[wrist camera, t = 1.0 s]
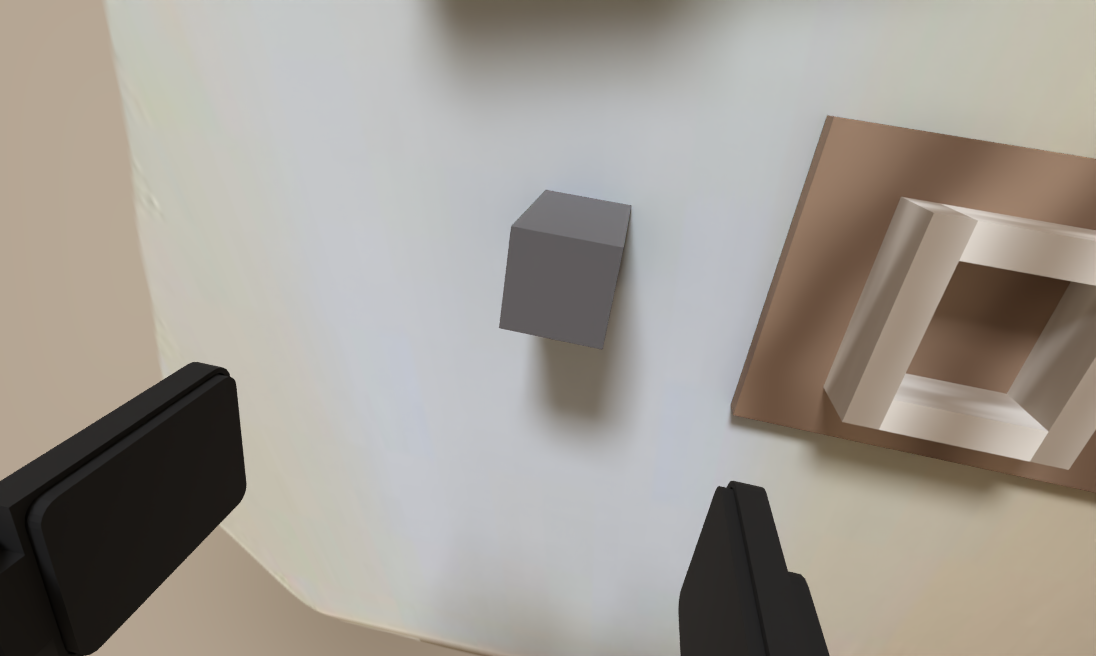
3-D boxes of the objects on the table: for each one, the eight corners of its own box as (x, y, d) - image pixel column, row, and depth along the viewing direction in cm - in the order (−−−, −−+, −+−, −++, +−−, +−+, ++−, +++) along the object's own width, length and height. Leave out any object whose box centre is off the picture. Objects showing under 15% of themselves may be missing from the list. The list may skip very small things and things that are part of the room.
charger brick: (631, 205, 26) (623, 247, 20) (614, 286, 28) (602, 349, 21) (545, 189, 26) (510, 226, 20) (534, 271, 28) (499, 328, 22)
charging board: (1375, 204, 21) (1523, 230, 18) (1153, 494, 27) (1229, 558, 24) (827, 115, 23) (859, 122, 19) (731, 404, 29) (741, 451, 25)
